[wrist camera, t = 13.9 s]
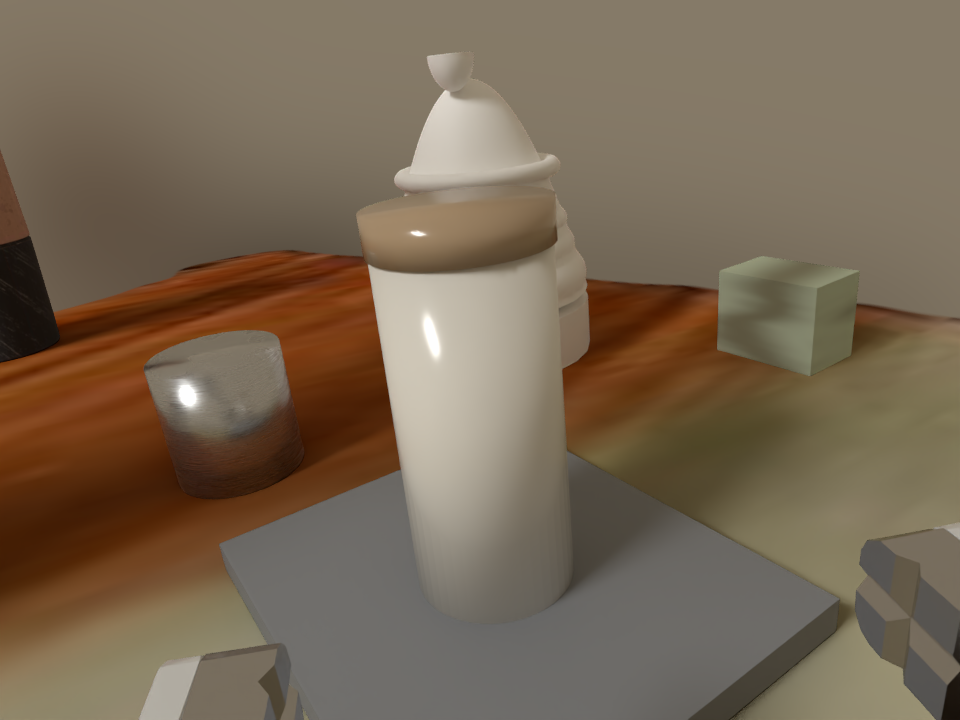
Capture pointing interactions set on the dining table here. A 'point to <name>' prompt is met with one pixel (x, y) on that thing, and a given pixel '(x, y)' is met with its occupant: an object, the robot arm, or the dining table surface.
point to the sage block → (787, 313)
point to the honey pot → (495, 173)
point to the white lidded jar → (476, 392)
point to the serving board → (536, 639)
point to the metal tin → (226, 413)
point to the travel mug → (20, 283)
